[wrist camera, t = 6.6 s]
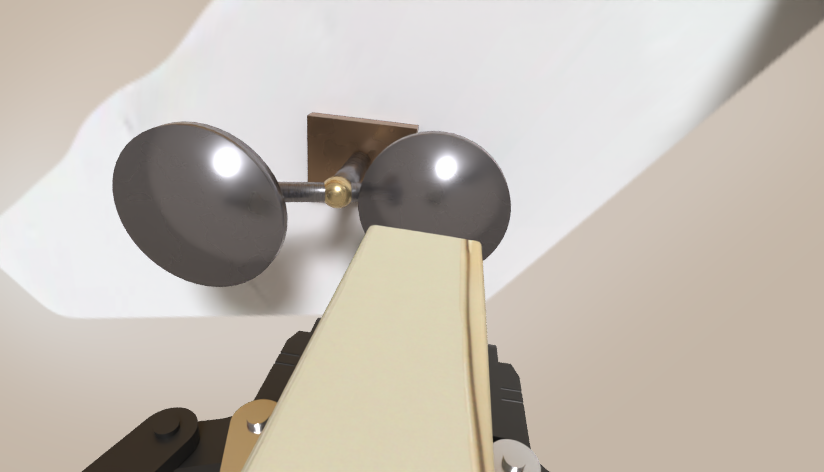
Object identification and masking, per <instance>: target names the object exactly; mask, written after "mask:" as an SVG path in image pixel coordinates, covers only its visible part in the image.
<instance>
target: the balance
mask: <svg viewBox="0 0 824 472" xmlns="http://www.w3.org/2000/svg"><path fill="white" fill-rule="evenodd" d="M418 127H419V125H412V124H404V123H396V122H388V121H379V120H371V119H363V118H355V117H346V116H338V115H330V114H322V113H313V112H312V113H311V114H309V115H307V141H308V182H277V180H276V178H275V176H274V175H273V173H272V172H271V170H270V169H269V167H268V166H267V165H266V163H265V162H264V161H263V160H262V159H261V157H260V156H259V155H258V154H257V153H256V152H254V151H253V150H252V149H251V148H250V147H249V146H248V145H246V144H245V143H244V142H242V141H241V140H240V139H238V138H236V137H235V136H233V135H231V134H230V133H228V132H225V131H223V130H221V129H219V128H216V127H213V126H210V125H207V124H202V123H197V122H172V123H168V124H164V125H161V126H158V127H155V128H152V129H149V130H147V131H145V132H142V133H141V134H139V135H138V136H136V137H135V138H133V139H132V140H131V141H130V142H129V143H128V144H127V145H126V146H125V148H124V149H123V150H122V152H121V153H120V155H119V158H118V160H117V162H116V165H115V169H114V173H113V196H114V202H115V205H116V209H117V212H118V215H119V217H120V219H121V222H122V224H123V226H124V227H125V229H126V231H127V233H128V234H129V236H130V237H131V238H132V240H133V241H134V242H135V244H136V245H137V246H138V247H139V248H140V250H141V251H142V252H143V253H144V254H145V255H147V256H148V257H149V258H150V259H151V260H152V261H153V262H155V263H156V264H157V265H158V266H160V267H161V268H163V269H164V270H166V271H168V272H169V273H171V274H173V275H175V276H177V277H179V278H182V279H184V280H186V281H189V282H193V283H196V284H200V285H205V286H214V287H226V286H233V285H238V284H241V283H245V282H247V281H249V280H251V279H253V278H255V277H256V276H258V275H259V274H261V273H262V272H263V271H264V270H265V269H266V268H267V267H268V266H269V265H270V263H271V262H272V261H273V260H274V258H275V257H276V256H277V254H278V253H279V251H280V249H281V247H282V245H283V243H284V240H285V236H286V231H287V209H286V204H285V202H325V203H326V204H327V205H328V206H330V207H332V208H343V207H345V206H347V205H348V204H349V203H350V202H358V210H359V216H360V221H361V224H362V227H363V229H364V232H365V234H366V232H367V230H368V228H369V227H370V226H373V225H379V226H385V227H392V228H399V229H405V230H412V231H418V232H425V233H431V234H437V235H444V236H450V237H456V238H462V239H467V240H474V241H478V242H480V243H481V246H482V260H485V259H486V258H487V257H488V256H489V255H490V254H491V253H492V252H493V251H494V250H495V249H496V248H497V246H498V245H499V244H500V242H501V240H502V239H503V237H504V235H505V232H506V230H507V227H508V224H509V220H510V212H511V201H510V194H509V190H508V186H507V183H506V179H505V177H504V175H503V173H502V170H501V169H500V167H499V166H498V164H497V162H496V161H495V160H494V159H493V158H492V156H491V155H490V154H489V153H488V152H487V151H485V150H484V149H483V148H482V147H481V146H479V145H478V144H476V143H475V142H473V141H471V140H469V139H467V138H465V137H462V136H459V135H456V134H453V133H448V132H440V131H427V132H420V133H418Z"/></svg>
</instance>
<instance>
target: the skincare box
mask: <svg viewBox="0 0 824 472" xmlns="http://www.w3.org/2000/svg"><path fill="white" fill-rule="evenodd" d="M486 326H487V325H486V309H485V289H484V275H483V260H482V246H481V243H480V242H478V241H474V240H467V239H462V238H456V237H450V236H444V235H437V234H431V233H425V232H418V231H412V230H405V229H399V228H392V227H385V226H379V225H373V226H370V227H369V228H368V230H367V232H366V234H365V236H364V238H363V240H362V242H361V243H360V245H359V247H358V249H357V251H356V253H355V255H354V257H353V259H352V261H351V263H350V265H349V266H348V268H347V270H346V272H345V274H344V276H343V278H342V280H341V282H340V283H339V285H338V287H337V289H336V291H335V293H334V295H333V297H332V299H331V301H330V303H329V304H328V306H327V308H326V310H325V312H324V314H323V316H322V318H321V320H320V322H319V324H318V325H317V327H316V329H315V331H314V333H313V335H312V337H311V339H310V341H309V343H308V345H307V346H306V348H305V350H304V352H303V354H302V356H301V358H300V360H299V362H298V364H297V366H296V368H295V370H294V372H293V374H292V375H291V377H290V379H289V381H288V383H287V385H286V387H285V389H284V391H283V393H282V395H281V397H280V399H279V400H278V402H277V404H276V406H275V408H274V410H273V412H272V414H271V416H270V418H269V420H268V421H267V423H266V425H265V427H264V429H263V431H262V433H261V435H260V436H259V438H258V440H257V442H256V444H255V446H254V448H253V450H252V452H251V453H250V455H249V457H248V459H247V461H246V463H245V465H244V467H243V468H242V470H241V472H495V470H494V454H493V436H492V417H491V398H490V381H489V362H488V343H487V327H486Z"/></svg>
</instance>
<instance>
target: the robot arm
mask: <svg viewBox="0 0 824 472" xmlns="http://www.w3.org/2000/svg"><path fill="white" fill-rule="evenodd" d="M320 320H321V318H318V319H317V320H316V322H315V324H314V326H313V328H312V331H311V332H303V331H298V332H297V333H296V334H295V335H293V336H292V337H291V338H289V339H288V340H287V342H286V343H285V345H284V347H283V349H282V351H281V354H279V356H278V358H277V360H276V362H275V364H274V365H273V367H272V369H271V370H270V372H269V374H268V376H267V378H266V380H265V381H264V383H263V385H262V387H261V388H260V390H259V392H258V394H257V396H256V397H255V399H254V401H251V402H248V403H246V404H245V405H243V406H241V407H240V408H239V409H238V410H237V411H236V412H235V413H234V415H233V416H231V417H228V418H223V419H216V420H207V421H199V422H198V420H197V417H196V415H195V414H194V413H193V412H192V411H190V410H188V409H186V408H169V409H165V410H162V411H160V412H157V413H155V414H154V415H152V416H150V417H149V418H148V419H146V420H145V421H144V422H143V423H141V424H140V425H139V426H138V427H137V428H135V429H134V430H133V431H131V432H130V433H129V434H128V435H126V436H125V437H124V438H123V439H122V440H120V441H119V442H118V443H117V444H115V445H114V446H113V447H112V448H110V449H109V450H108V451H107V452H105V453H104V454H103V455H102V456H100V457H99V458H98V459H97V460H96V461H94V462H93V463H92V464H91V465H89V466H88V467H87V468H86V469H84V470H83V471H82V472H241V470H242V468H243V467H244V465H245V463H246V461H247V459H248V457H249V455H250V453H251V452H252V450H253V448H254V446H255V444H256V442H257V440H258V438H259V436H260V435H261V433H262V431H263V429H264V427H265V425H266V423H267V421H268V420H269V418H270V416H271V414H272V412H273V410H274V408H275V406H276V404H277V402H278V400H279V399H280V397H281V395H282V393H283V391H284V389H285V387H286V385H287V383H288V381H289V379H290V377H291V375H292V374H293V372H294V370H295V368H296V366H297V364H298V362H299V360H300V358H301V356H302V354H303V352H304V350H305V348H306V346H307V345H308V343H309V341H310V339H311V337H312V335H313V333H314V331H315V329H316V327H317V325H318V324H319V322H320ZM488 362H489V381H490V398H491V417H492V436H493V454H494V470H495V472H549V471H548V470H546V469H545V468H544V467H543V466H542V465H541V464H540V463H539V460H538V458H537V457H536V455H535V454H534V452H533V451H532V450H531V448H530V443H529V436H528V430H527V424H526V417H525V411H524V405H523V398H522V393H521V385H520V378H519V376H518V374H517V373H516V371H515V370H514V368H513V367H512V365H511V364H507V363H500V362H498V357H497V348H496V345H490V344H488Z"/></svg>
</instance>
